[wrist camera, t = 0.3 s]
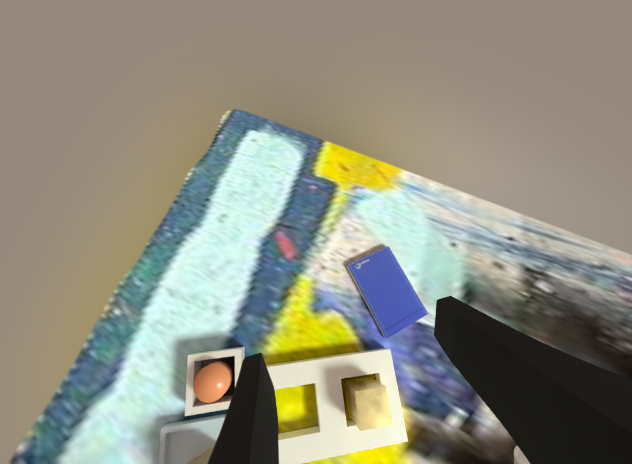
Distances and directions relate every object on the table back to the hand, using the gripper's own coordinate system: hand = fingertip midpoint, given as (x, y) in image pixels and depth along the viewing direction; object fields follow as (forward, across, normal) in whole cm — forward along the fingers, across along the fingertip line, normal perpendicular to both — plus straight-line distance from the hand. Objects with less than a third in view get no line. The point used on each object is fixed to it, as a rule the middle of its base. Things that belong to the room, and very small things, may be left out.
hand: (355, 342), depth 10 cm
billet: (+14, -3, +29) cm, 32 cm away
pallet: (+14, +1, +28) cm, 31 cm away
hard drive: (+24, -12, +20) cm, 34 cm away
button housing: (+19, +14, +22) cm, 32 cm away
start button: (+17, +14, +21) cm, 31 cm away
